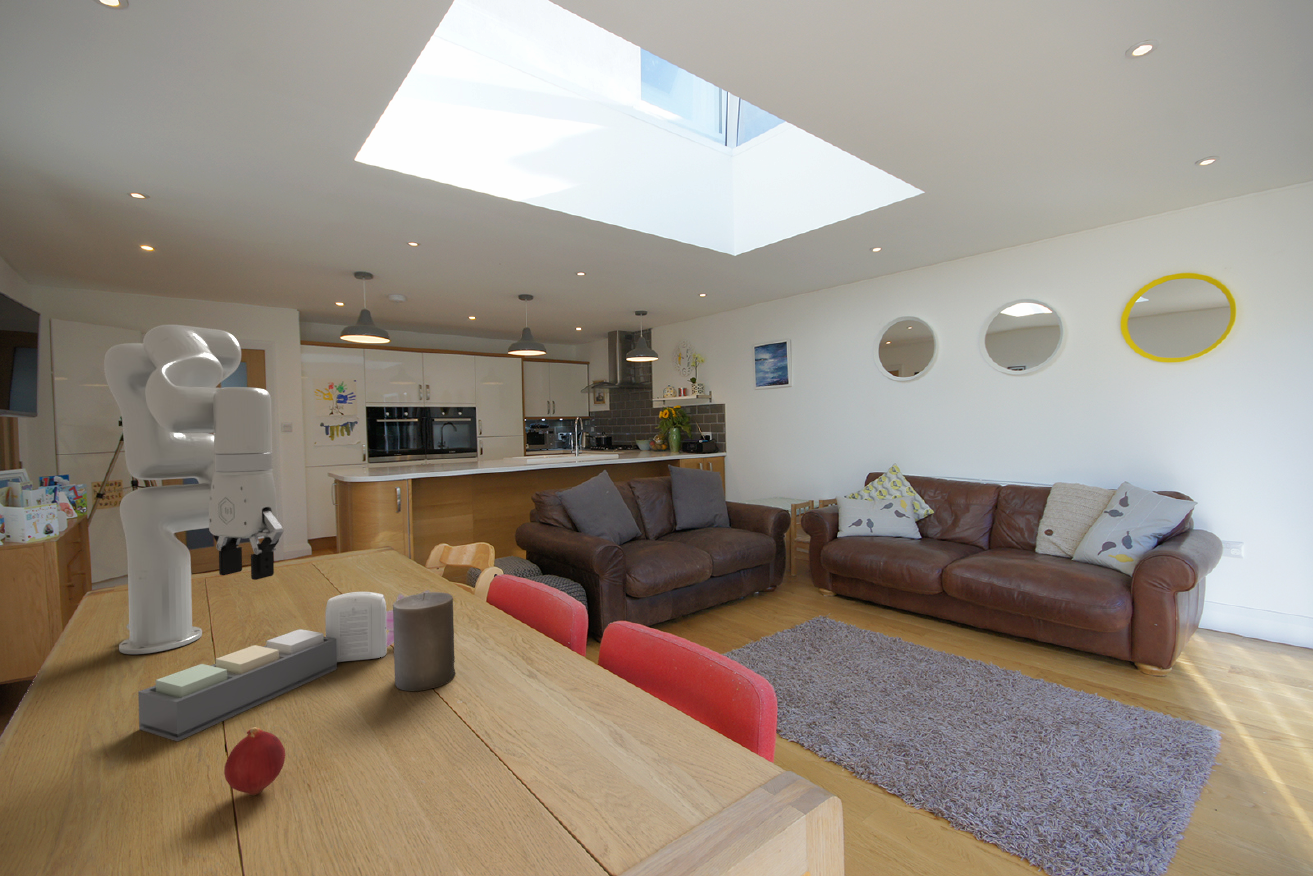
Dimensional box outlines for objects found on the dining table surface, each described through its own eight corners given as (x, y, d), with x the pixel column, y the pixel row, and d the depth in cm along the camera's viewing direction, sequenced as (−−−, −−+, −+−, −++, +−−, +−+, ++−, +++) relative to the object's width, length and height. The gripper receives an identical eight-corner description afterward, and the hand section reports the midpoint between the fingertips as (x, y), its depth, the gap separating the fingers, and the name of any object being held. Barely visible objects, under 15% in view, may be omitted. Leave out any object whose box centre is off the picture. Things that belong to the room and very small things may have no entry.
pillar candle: (467, 672, 100) (465, 587, 100) (423, 696, 91) (421, 603, 91) (426, 664, 104) (424, 582, 104) (380, 686, 95) (378, 597, 95)
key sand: (216, 683, 90) (215, 658, 90) (255, 668, 95) (254, 645, 95) (241, 690, 88) (240, 664, 87) (279, 674, 93) (279, 650, 93)
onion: (246, 779, 70) (244, 715, 70) (295, 776, 70) (294, 713, 70) (213, 811, 64) (211, 741, 64) (267, 808, 64) (265, 738, 64)
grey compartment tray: (139, 729, 82) (138, 691, 81) (302, 662, 105) (301, 632, 104) (177, 741, 78) (176, 702, 78) (336, 669, 101) (336, 638, 101)
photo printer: (389, 649, 110) (387, 586, 109) (385, 659, 106) (383, 594, 105) (329, 656, 107) (327, 591, 106) (323, 666, 103) (321, 599, 102)
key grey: (266, 664, 97) (266, 640, 97) (300, 651, 103) (299, 629, 103) (291, 669, 95) (290, 645, 95) (323, 655, 101) (323, 633, 100)
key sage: (156, 707, 82) (155, 680, 82) (202, 689, 88) (201, 663, 88) (182, 714, 80) (181, 686, 80) (227, 695, 86) (227, 669, 86)
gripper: (183, 465, 90) (186, 576, 91) (257, 467, 84) (259, 587, 84) (233, 462, 97) (235, 565, 98) (304, 464, 91) (306, 574, 91)
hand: (246, 574), depth 91 cm, fingers open, 6 cm apart
